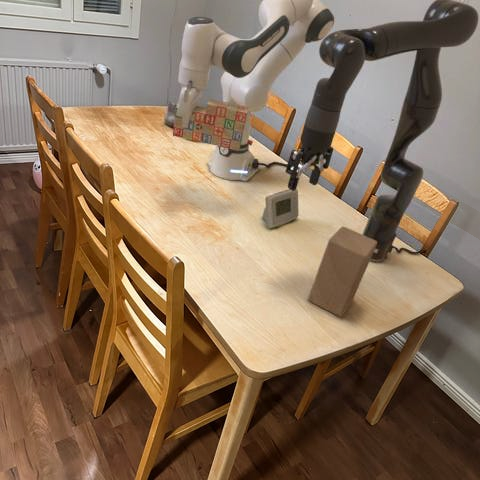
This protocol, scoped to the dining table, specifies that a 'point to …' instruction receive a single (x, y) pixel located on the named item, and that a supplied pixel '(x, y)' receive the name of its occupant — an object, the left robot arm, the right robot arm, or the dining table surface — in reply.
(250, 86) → the left robot arm
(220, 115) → the stack of blocks
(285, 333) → the dining table surface
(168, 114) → the shoe
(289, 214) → the digital clock
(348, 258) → the wooden block
